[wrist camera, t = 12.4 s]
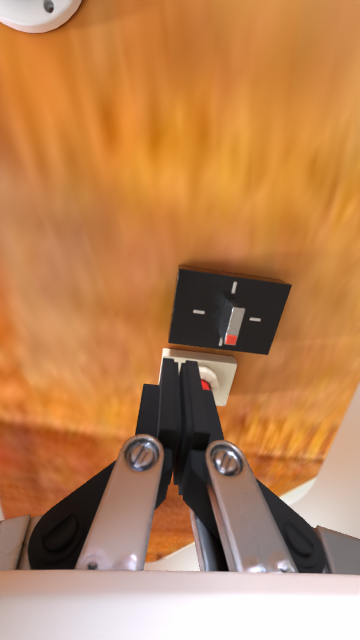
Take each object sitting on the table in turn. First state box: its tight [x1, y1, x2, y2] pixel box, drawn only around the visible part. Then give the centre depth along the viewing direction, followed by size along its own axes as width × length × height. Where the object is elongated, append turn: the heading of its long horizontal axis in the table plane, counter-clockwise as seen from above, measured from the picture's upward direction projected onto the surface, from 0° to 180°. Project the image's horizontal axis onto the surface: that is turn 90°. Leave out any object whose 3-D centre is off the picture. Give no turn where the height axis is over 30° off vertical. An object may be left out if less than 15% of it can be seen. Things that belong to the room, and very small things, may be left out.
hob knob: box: [218, 298, 245, 345], centre depth 27 cm, size 5×1×4 cm, turn 171°
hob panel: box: [168, 265, 292, 355], centre depth 30 cm, size 14×10×3 cm
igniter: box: [158, 348, 237, 406], centre depth 34 cm, size 11×8×4 cm
